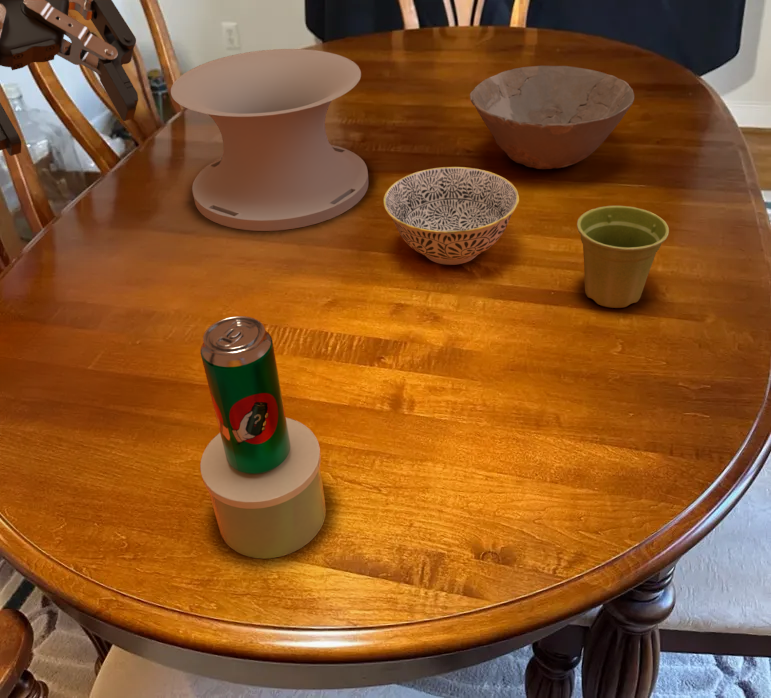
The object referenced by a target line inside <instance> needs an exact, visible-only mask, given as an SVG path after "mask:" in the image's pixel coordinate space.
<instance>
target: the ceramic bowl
mask: <svg viewBox="0 0 771 698" xmlns="http://www.w3.org/2000/svg"><path fill="white" fill-rule="evenodd" d="M469 99H470V102H471V104H472V105H473V106H474V107H475V109H476V111H477V113H478V114H479V116H480V118H481V120H482V121H483V122H484V124H485V126H486V127H487V129H488V130H489V132H490V134H491V136H492V137H493V138H494V141H495V143H496V145H497V146H498V147H499V148H500V149H501V150H502V151H503V152H504V153H505V154H506V155H507V157H509V159H510V160H511V161H513V162H514V163H516V164H519V165H524V166H525V167H528V168H534V169H537V170H552V169H561V168H566V167H570V166H572V165H576V164H577V163H579V162H581V161H584V160H585V159H587V158H589V156H590V155H592V154H593V153H594V152H595V151H596V150H597V149H598V148H599V147H600V146H601V145H602V144H603V143H604V142H605V141H606V140H607V138H608V137H609V136H610V135H611V133H613V131H614V130H615V128H616V127H617V126H618V125H619V124H620V122H621V121H622V120H623V118H624V116H625V115H626V114H627V112H628V111H629V109H630V108H631V106H632V105H633V104H634V101H635V93H634V89H633V88H632V87H631V86H630V85H629V83H628V82H627V81H626V80H623V79H621V78H618V77H617V76H615V75H612V74H607V73H605V72H603V71H602V72H601V71H597V70H594V69H588V68H583V67H577V66H570V65H569V66H568V65H533V66H522V67H517V68H512V69H508V70H504V71H501V72H499V73H497V74H495V75H492V76H489V77H488V78H485V79H483V80H482V81H481V82H480V83H478V84H477V85H476V86H475V87H474V88H473V89H472V90H471V92H470V93H469Z"/></svg>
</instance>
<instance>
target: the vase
mask: <svg viewBox="0 0 771 698" xmlns="http://www.w3.org/2000/svg"><path fill="white" fill-rule="evenodd" d="M361 77H362V71H361V69H360V67H359V65H358V64H357V63H356V62H355V61H352V60H351V59H350V58H347V57H345V56H343V55H340V54H336V53H333V52H328V51H323V50H317V49H316V50H315V49H305V48H276V49H262V50H261V49H260V50H253V51H248V52H242V53H236V54H232V55H231V54H230V55H227V56H223V57H219V58H217V59H213V60H210V61H207V62H205V63H202V64H199V65H197V66H194V67H193V68H191V69H189V70H187V71H186V72H184V73H183V74H181V75H180V76H179V77H178V78H177V79H175V81H174V82H173V83H172V85H171V87H170V95H171V98H172V99H173V100H174V101H175V103H177V104H178V105H179V106H182V107H183V108H185V109H188V110H191V111H194V112H197V113H201V114H206V115H208V116H209V117H210V118H211V119H212V120H213V121H214V123H215V124H216V126H217V127H218V130H219V132H220V134H221V138H222V139H221V140H222V143H223V152H222V156H221V157H219V158H218V159H216V160H213V161H212V162H211V163H209V164H208V165H206V166H205V167H204V168H203V169H202V170H200V172H199V173H198V174H197V175H196V177H195V178H194V180H193V183H192V187H191V189H192V190H191V192H192V196H193V200H194V204H195V207H196V208H197V210H198V212H199V213H200V214H201V215H202V216H203V217H205V218H206V219H208V220H210V221H211V222H213V223H216V224H218V225H220V226H224V227H228V228H232V229H237V230H243V231H251V232H252V231H253V232H274V231H275V232H276V231H285V230H286V231H287V230H293V229H294V230H295V229H299V228H304V227H309V226H313V225H316V224H320V223H323V222H325V221H328V220H331V219H334V218H336V217H338V216H340V215H342V214H344V213H346V212H347V211H349V210H351V209H352V208H353V207H354V206H356V205H357V204H358V203H359V202H360V201H361V200H362V199H363V198H364V196H365V195H366V193H367V191H368V188H369V184H370V183H369V182H370V181H369V171H368V166H367V164H366V163H365V161H364V159H362V158H361V157H360V156H359V155H358V154H356V153H355V152H352V150H351V151H350V150H349V149H347V148H344V147H342V146H339V145H335V144H331V143H330V141H329V138H328V135H327V131H326V119H327V118H326V117H327V112H328V109H329V107H330V105H331V103H332V101H333V100H336V99H338V98H340V97H342V96H344V95H345V94H347V93H348V92H350V91H351V90H352V89H354V88H355V87H356V86H357V84H359V82H360V80H361Z"/></svg>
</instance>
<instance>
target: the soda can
mask: <svg viewBox="0 0 771 698" xmlns="http://www.w3.org/2000/svg"><path fill="white" fill-rule="evenodd" d="M202 342H203V343H202V344H201V347H200V357H201V362H202V365H203V370H204V373H205V377H206V381H207V385H208V390H209V394H210V398H211V401H212V405H213V410H214V414H215V418H216V422H217V426H218V430H219V433H220V434H221V438H222V442H223V447H224V451H225V455H226V459H227V461H228V463H229V464H230V466H231V467H233V468H234V469H236V470H237V471H240V472H243V473H246V474H253V475H255V474H263V473H267V472H269V471H272V470H274V469H275V468H277V467H278V466H279V465H280V464H282V463H283V462H284V460H285V459H286V458H287V456H288V454H289V452H290V439H289V433H288V428H287V422H286V418H287V417H286V412H285V405H284V400H283V395H282V389H281V381H280V377H279V370H278V366H277V359H276V353H275V348H274V342H273V338H272V336H271V334H270V333H269V332H268V331H267V330H266V328H265V325H264V324H263V323H262V322H261V321H260V320H258V319H256V318H254V317H251V316H245V315H237V316H229V317H226V318H223V319H220V320H218V321H216V322H214V323H212V324H211V325H210V326H208V328H207V329H206V330H205V332H204V333H203V336H202Z"/></svg>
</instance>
